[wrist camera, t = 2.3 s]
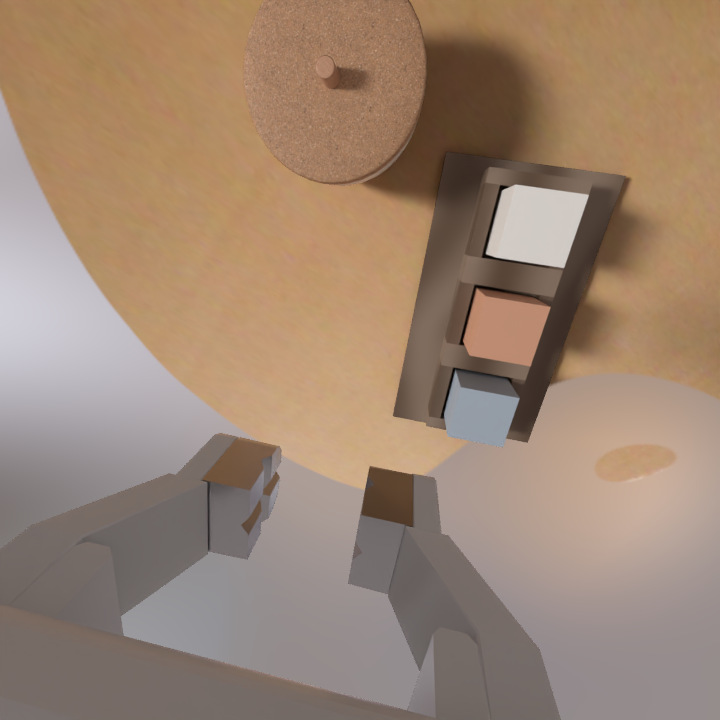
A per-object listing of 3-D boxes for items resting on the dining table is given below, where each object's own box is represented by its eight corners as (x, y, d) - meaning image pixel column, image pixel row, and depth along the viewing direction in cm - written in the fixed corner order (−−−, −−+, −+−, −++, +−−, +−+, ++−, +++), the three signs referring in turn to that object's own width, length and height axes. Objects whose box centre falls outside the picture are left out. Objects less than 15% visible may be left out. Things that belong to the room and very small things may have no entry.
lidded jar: (353, 223, 30) (328, 221, 21) (259, 121, 29) (191, 73, 20) (453, 114, 27) (473, 58, 18) (352, -10, 25) (320, -138, 16)
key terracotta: (532, 296, 28) (550, 306, 24) (515, 349, 30) (530, 366, 26) (475, 287, 28) (485, 296, 25) (462, 339, 30) (469, 355, 26)
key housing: (621, 177, 26) (645, 171, 24) (525, 439, 35) (535, 457, 32) (445, 153, 27) (449, 144, 25) (393, 413, 36) (391, 428, 33)
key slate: (506, 377, 30) (519, 398, 27) (492, 421, 32) (502, 447, 28) (454, 368, 31) (460, 387, 27) (443, 412, 32) (447, 436, 29)
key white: (563, 199, 25) (588, 194, 22) (543, 262, 27) (564, 268, 23) (500, 190, 26) (515, 184, 22) (484, 253, 27) (495, 257, 24)
